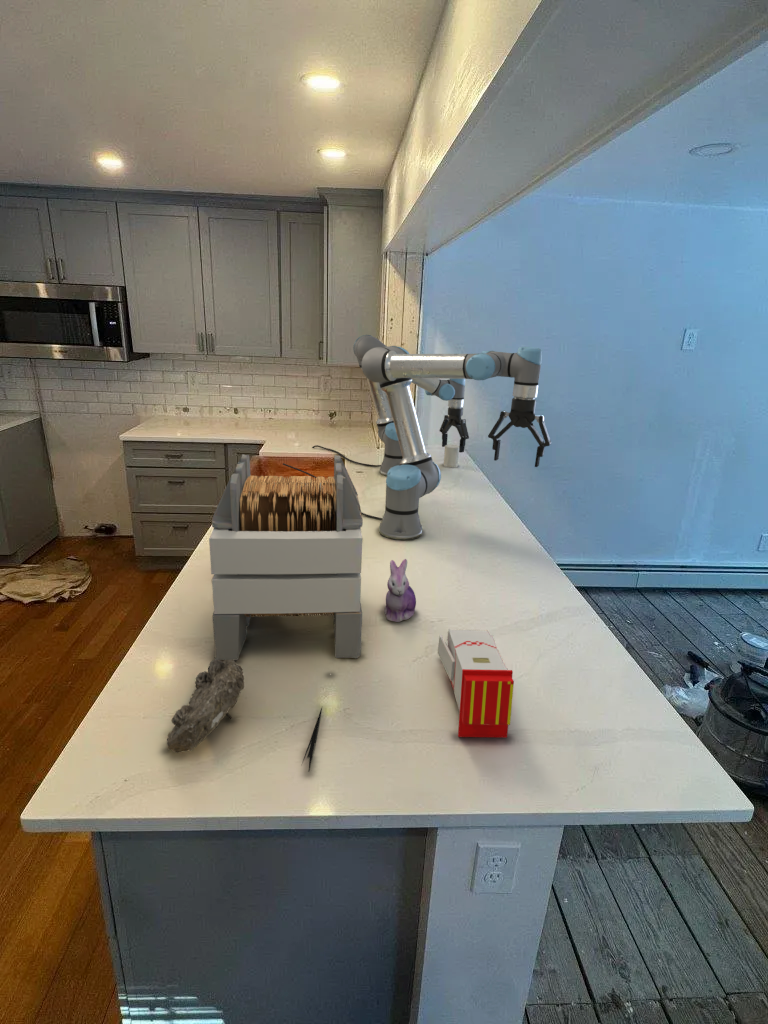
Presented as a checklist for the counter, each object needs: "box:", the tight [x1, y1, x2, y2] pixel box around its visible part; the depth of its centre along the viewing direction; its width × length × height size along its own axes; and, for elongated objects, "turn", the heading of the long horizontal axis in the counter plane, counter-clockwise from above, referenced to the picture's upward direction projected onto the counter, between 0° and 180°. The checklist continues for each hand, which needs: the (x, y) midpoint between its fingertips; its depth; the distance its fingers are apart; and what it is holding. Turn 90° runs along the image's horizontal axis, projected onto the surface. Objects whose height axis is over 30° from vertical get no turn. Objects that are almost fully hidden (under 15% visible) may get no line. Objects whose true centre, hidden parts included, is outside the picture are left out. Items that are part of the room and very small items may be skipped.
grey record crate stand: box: [208, 453, 364, 661], centre depth 135 cm, size 34×33×41 cm
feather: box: [301, 673, 332, 771], centre depth 108 cm, size 2×28×2 cm
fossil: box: [166, 659, 245, 754], centre depth 106 cm, size 22×10×15 cm
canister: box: [443, 443, 460, 469], centre depth 289 cm, size 7×7×10 cm
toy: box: [437, 628, 515, 738], centre depth 117 cm, size 12×13×30 cm
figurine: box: [384, 558, 417, 623], centre depth 145 cm, size 9×10×15 cm
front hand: (516, 462), depth 187 cm, fingers open, 13 cm apart
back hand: (452, 449), depth 288 cm, fingers open, 13 cm apart
